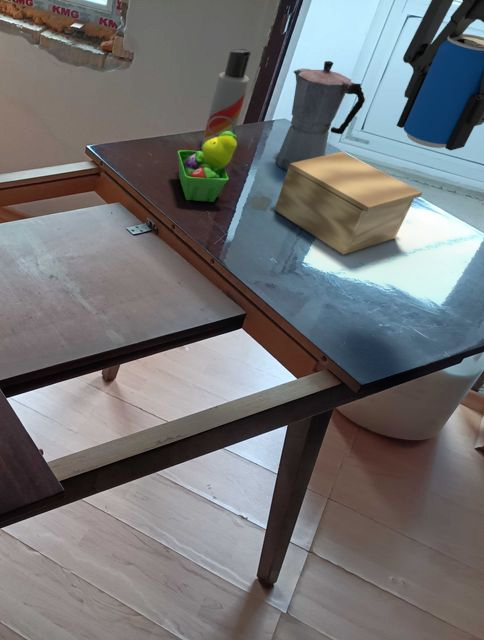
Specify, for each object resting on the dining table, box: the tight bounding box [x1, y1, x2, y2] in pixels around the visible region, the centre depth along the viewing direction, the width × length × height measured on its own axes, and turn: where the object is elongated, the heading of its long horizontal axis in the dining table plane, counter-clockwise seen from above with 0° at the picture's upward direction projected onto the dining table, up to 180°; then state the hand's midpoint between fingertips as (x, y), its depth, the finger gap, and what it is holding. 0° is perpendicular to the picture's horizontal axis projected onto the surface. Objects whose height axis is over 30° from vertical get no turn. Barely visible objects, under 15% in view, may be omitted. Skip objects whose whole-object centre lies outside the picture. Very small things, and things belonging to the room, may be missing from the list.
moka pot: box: [275, 60, 366, 171], centre depth 130 cm, size 10×15×20 cm, turn 40°
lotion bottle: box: [200, 48, 252, 152], centre depth 133 cm, size 6×6×20 cm
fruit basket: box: [177, 131, 238, 203], centre depth 123 cm, size 11×9×11 cm
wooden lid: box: [289, 151, 423, 212], centre depth 112 cm, size 16×13×1 cm
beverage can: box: [403, 33, 484, 149], centre depth 84 cm, size 6×6×12 cm
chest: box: [274, 168, 415, 255], centre depth 116 cm, size 16×13×9 cm
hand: (429, 135), depth 87 cm, fingers closed on beverage can, 6 cm apart
